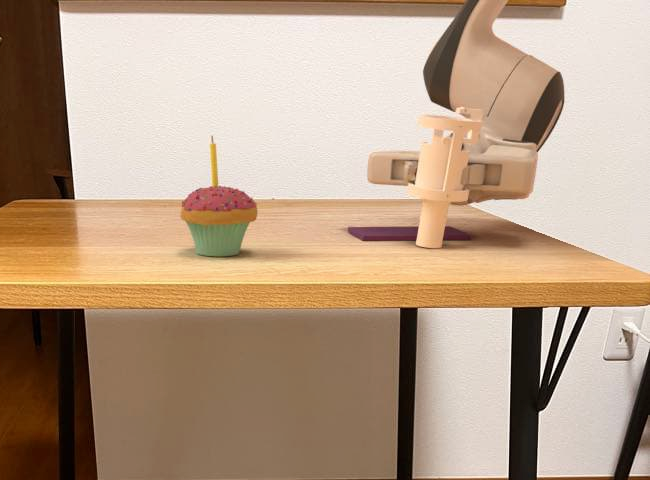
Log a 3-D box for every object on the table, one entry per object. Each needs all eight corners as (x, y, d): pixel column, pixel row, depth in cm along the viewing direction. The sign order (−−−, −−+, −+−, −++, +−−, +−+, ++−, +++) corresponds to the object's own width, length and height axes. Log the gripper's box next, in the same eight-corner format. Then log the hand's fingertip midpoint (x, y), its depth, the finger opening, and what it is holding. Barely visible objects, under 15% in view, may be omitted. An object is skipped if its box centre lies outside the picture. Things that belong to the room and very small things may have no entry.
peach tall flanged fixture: (466, 253, 103) (494, 111, 95) (409, 250, 101) (432, 106, 94) (446, 241, 109) (471, 106, 101) (392, 238, 107) (412, 102, 100)
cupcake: (170, 249, 101) (167, 134, 95) (237, 245, 104) (238, 134, 98) (198, 261, 94) (197, 138, 88) (270, 257, 97) (272, 138, 91)
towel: (449, 230, 117) (450, 226, 117) (471, 239, 110) (471, 234, 110) (347, 231, 116) (348, 226, 115) (363, 240, 109) (363, 235, 108)
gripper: (389, 137, 114) (350, 141, 104) (550, 143, 106) (526, 148, 95) (385, 189, 117) (347, 198, 106) (541, 199, 109) (517, 209, 98)
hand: (433, 174), depth 101 cm, fingers open, 4 cm apart
